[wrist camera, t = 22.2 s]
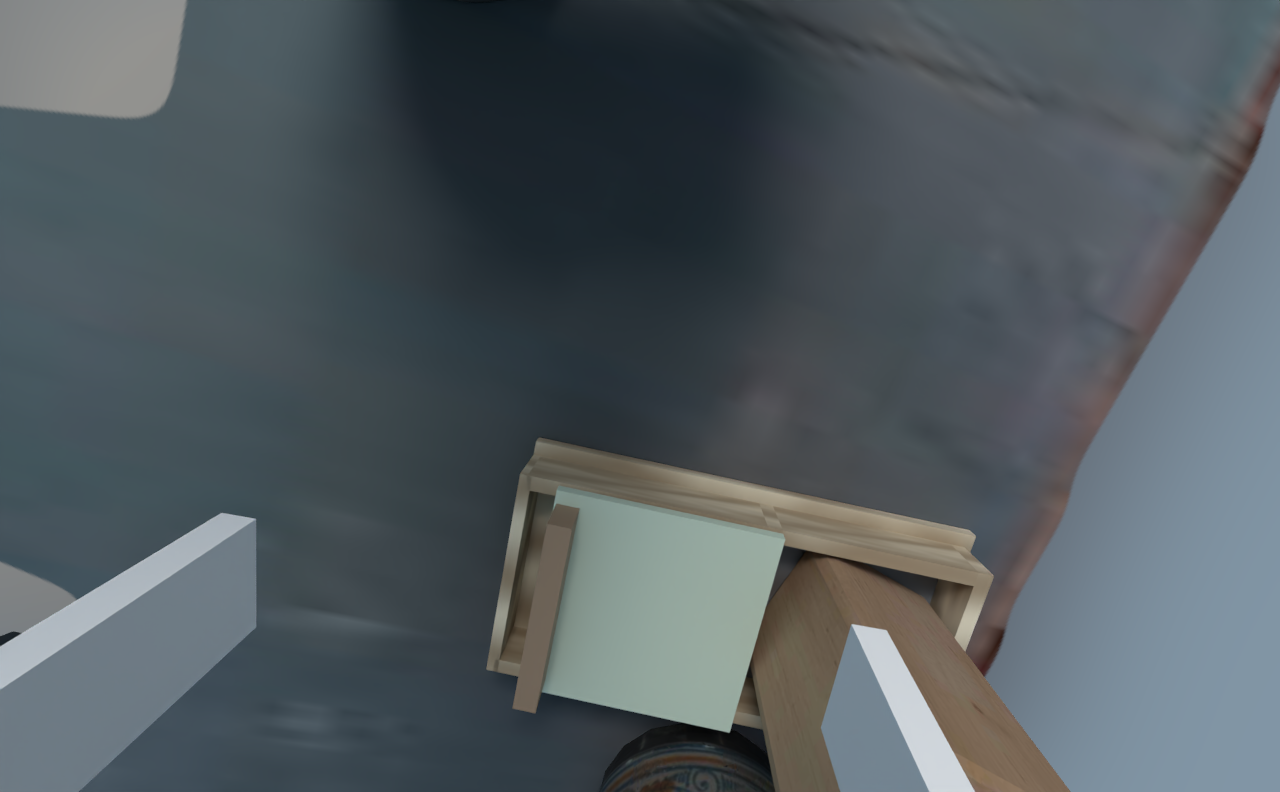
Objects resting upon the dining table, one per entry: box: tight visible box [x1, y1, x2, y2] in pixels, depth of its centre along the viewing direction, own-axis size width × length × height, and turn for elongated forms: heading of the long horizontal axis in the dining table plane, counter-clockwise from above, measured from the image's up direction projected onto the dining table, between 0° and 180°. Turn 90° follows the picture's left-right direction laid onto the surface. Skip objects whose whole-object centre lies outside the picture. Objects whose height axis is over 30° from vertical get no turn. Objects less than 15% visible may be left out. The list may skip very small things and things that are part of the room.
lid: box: [513, 486, 785, 733], centre depth 38 cm, size 15×15×4 cm
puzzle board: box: [486, 437, 994, 730], centre depth 43 cm, size 17×32×5 cm, turn 78°
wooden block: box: [750, 550, 1070, 792], centre depth 35 cm, size 10×10×20 cm
